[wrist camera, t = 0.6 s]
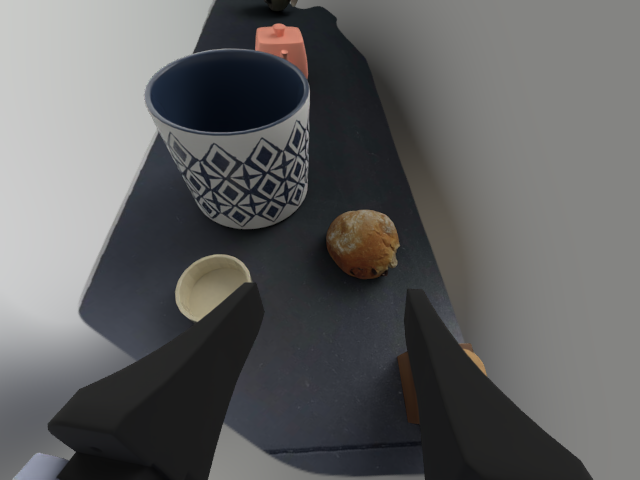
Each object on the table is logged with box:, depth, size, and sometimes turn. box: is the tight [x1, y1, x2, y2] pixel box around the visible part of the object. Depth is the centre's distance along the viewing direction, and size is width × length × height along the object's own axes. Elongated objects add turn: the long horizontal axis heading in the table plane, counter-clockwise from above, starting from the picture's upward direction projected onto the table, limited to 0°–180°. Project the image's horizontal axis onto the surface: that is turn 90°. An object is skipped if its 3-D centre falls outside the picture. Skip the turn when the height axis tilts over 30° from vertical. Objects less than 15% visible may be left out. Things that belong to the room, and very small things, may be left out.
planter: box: [144, 49, 310, 229], centre depth 37 cm, size 18×18×16 cm
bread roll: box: [326, 210, 400, 279], centre depth 36 cm, size 10×10×8 cm
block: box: [397, 343, 474, 424], centre depth 26 cm, size 6×5×8 cm
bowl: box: [175, 254, 253, 323], centre depth 32 cm, size 8×8×4 cm
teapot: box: [255, 24, 308, 79], centre depth 57 cm, size 12×18×10 cm, turn 11°
